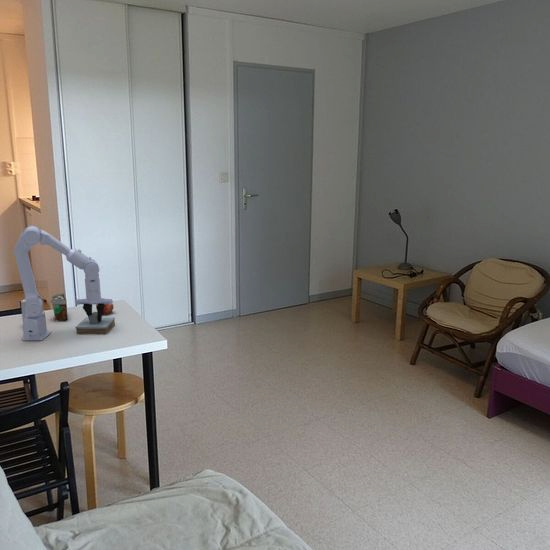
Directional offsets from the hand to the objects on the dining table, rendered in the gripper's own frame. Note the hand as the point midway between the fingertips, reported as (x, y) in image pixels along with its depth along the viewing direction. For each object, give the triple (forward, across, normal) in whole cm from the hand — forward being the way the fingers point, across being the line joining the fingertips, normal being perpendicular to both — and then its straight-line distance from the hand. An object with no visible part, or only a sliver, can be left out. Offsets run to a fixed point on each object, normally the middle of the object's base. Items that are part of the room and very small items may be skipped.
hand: (95, 321), depth 220 cm
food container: (+4, +21, -15) cm, 26 cm away
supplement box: (+4, +29, -6) cm, 30 cm away
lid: (+2, 0, 0) cm, 2 cm away
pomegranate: (+4, +3, -22) cm, 23 cm away
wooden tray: (+4, 0, 0) cm, 4 cm away
